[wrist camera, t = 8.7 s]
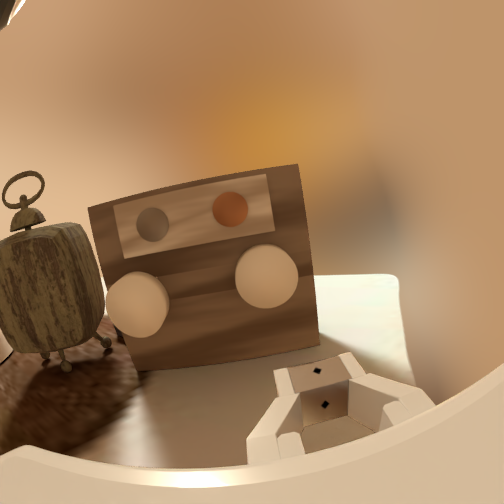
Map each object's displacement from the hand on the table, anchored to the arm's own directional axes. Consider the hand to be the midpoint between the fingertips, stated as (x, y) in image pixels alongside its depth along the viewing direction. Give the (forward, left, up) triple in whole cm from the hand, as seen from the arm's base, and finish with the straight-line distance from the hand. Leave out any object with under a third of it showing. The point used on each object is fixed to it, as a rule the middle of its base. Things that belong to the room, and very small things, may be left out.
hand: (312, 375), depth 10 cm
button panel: (+1, +19, -9) cm, 21 cm away
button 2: (+6, +16, -3) cm, 17 cm away
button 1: (-5, +18, -3) cm, 19 cm away
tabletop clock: (-19, +26, -10) cm, 34 cm away
